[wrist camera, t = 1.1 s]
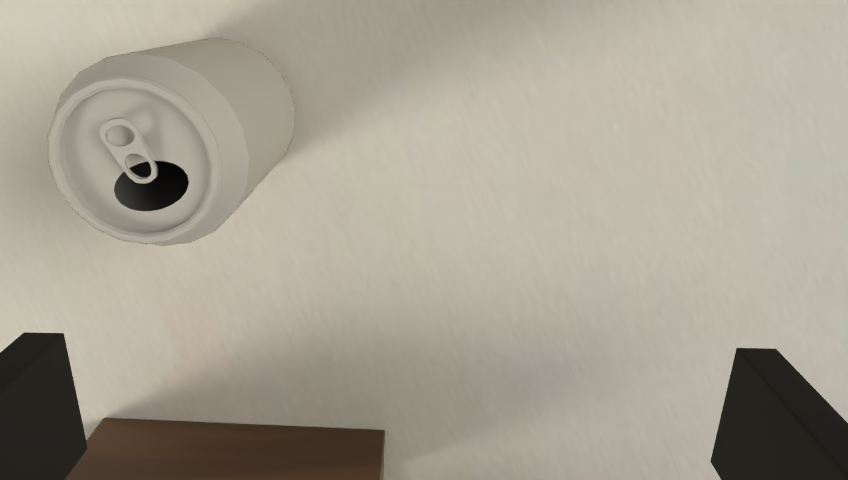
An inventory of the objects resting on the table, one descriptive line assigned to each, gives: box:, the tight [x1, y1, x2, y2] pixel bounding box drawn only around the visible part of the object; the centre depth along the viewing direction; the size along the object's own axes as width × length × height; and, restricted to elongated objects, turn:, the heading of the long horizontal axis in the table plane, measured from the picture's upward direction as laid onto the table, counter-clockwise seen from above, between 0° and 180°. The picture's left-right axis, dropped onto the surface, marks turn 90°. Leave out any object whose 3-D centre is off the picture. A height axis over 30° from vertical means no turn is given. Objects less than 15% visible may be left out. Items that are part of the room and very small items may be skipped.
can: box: [48, 38, 295, 246], centre depth 29 cm, size 8×8×12 cm
